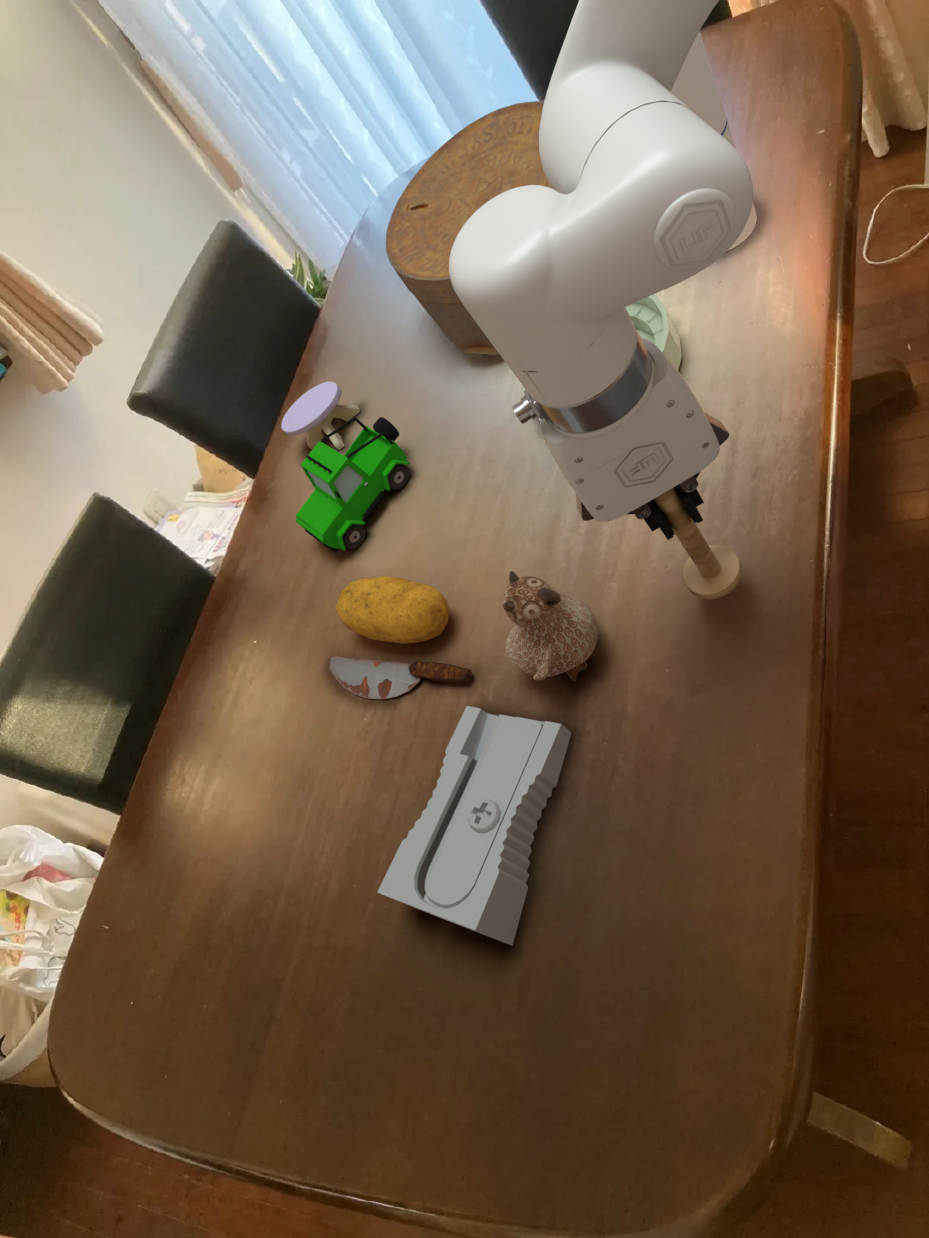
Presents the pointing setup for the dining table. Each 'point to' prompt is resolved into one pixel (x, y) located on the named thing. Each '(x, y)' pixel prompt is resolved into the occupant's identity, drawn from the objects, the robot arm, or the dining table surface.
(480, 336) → the container
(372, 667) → the kitchen knife
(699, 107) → the cylindrical container
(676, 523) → the wooden peg stand
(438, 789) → the wedge sharpener
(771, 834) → the dining table surface
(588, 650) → the figurine
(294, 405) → the toy table
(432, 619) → the potato
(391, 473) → the toy car
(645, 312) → the bowl
